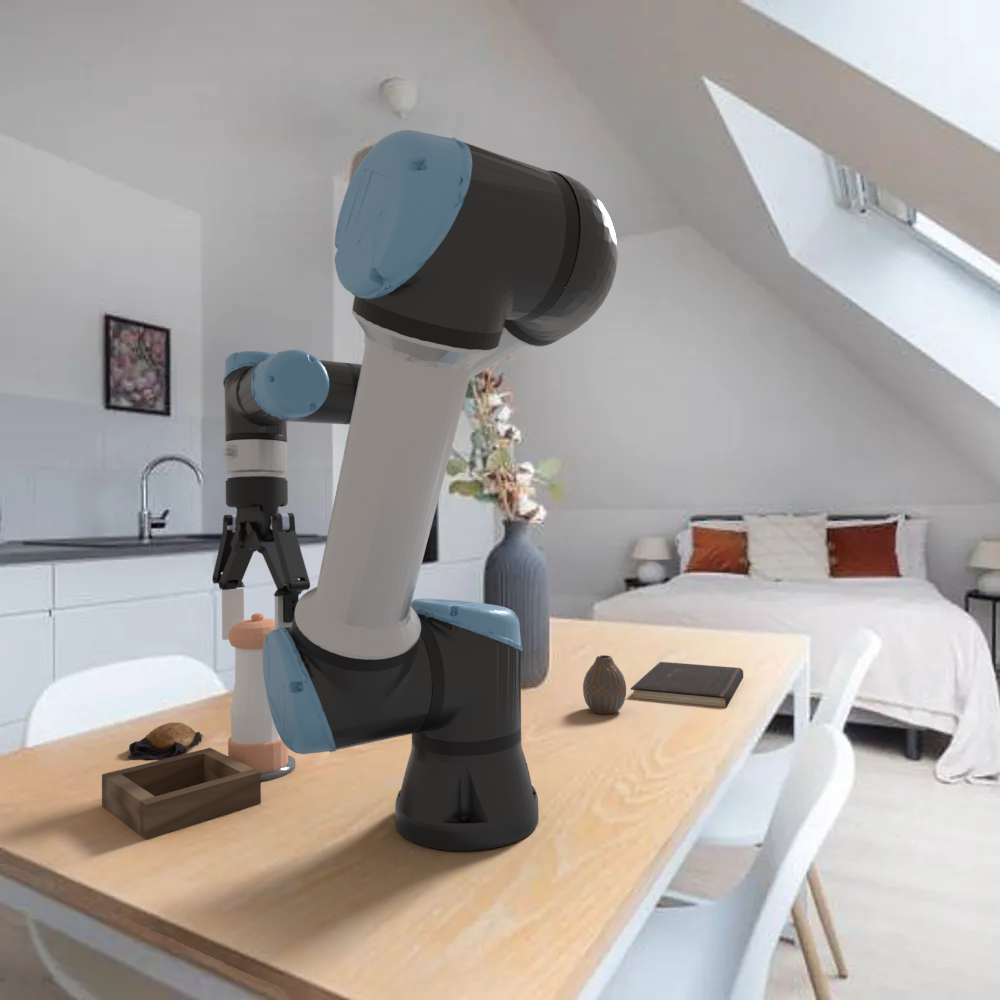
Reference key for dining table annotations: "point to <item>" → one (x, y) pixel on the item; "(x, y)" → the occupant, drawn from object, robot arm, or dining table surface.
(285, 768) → the slate coaster
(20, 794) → the dining table surface
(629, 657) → the dining table surface
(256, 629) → the pepper shaker
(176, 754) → the brown and black lump
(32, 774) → the dining table surface
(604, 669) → the vase
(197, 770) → the walnut frame
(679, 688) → the hardcover book
